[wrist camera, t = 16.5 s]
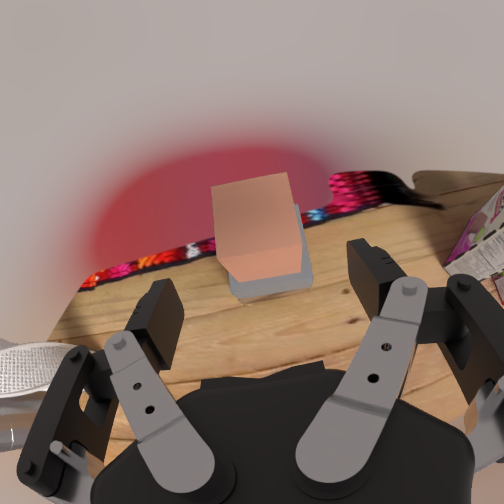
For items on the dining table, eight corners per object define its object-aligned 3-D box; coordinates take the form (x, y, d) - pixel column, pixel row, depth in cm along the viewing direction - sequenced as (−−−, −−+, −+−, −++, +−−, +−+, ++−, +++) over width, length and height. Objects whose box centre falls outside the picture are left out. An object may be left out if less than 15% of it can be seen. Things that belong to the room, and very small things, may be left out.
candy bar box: (470, 214, 33) (528, 154, 18) (490, 236, 32) (554, 185, 16) (439, 267, 32) (510, 217, 16) (462, 291, 30) (540, 255, 15)
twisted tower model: (75, 335, 37) (-83, 298, 11) (113, 345, 36) (-69, 314, 9) (72, 385, 34) (-83, 380, 8) (110, 400, 33) (-64, 415, 7)
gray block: (238, 299, 31) (230, 292, 27) (230, 232, 34) (222, 217, 30) (311, 286, 30) (313, 278, 27) (297, 219, 33) (297, 203, 29)
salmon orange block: (238, 282, 28) (217, 259, 20) (232, 225, 30) (210, 186, 22) (300, 272, 27) (302, 244, 19) (289, 215, 29) (286, 172, 21)
